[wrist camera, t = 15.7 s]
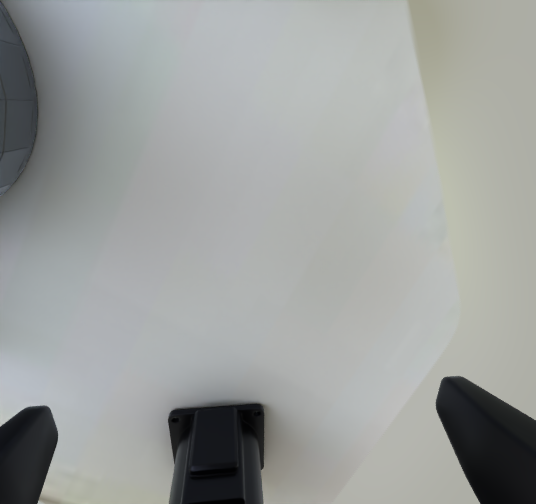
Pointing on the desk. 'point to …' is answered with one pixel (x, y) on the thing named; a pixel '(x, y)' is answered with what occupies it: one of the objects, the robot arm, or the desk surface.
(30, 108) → the pan
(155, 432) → the desk surface
